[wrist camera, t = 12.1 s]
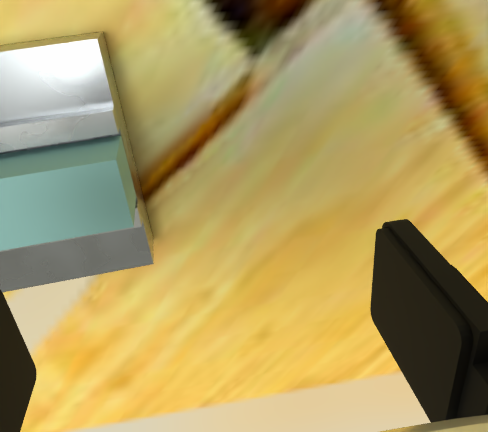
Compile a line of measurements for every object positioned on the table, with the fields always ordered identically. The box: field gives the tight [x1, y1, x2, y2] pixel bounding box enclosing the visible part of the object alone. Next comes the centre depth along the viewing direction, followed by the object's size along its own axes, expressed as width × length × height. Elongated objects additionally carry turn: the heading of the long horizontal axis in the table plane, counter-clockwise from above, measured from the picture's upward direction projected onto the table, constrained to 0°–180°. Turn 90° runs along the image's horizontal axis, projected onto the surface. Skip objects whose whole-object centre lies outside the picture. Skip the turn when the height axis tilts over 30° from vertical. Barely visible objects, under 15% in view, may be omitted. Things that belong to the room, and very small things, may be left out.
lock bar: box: [0, 135, 136, 251], centre depth 19 cm, size 10×3×3 cm, turn 96°
